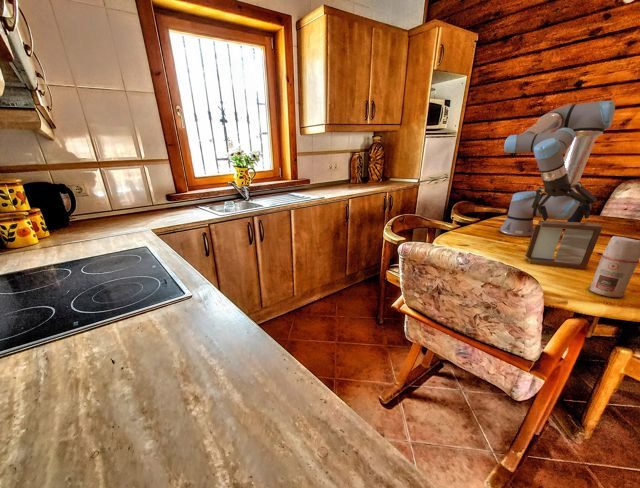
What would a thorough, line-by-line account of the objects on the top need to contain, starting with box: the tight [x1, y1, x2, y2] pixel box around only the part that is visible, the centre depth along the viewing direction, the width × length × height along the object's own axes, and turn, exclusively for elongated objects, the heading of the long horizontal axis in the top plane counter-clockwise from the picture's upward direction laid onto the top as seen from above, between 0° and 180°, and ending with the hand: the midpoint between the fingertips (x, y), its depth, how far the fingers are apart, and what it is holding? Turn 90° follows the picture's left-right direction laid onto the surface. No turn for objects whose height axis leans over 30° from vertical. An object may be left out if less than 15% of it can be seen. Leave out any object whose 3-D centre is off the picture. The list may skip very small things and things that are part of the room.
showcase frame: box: [526, 220, 604, 270], centre depth 115 cm, size 5×18×18 cm, turn 64°
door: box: [525, 224, 564, 259], centre depth 118 cm, size 2×9×14 cm, turn 63°
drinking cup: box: [566, 203, 585, 223], centre depth 158 cm, size 8×8×20 cm
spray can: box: [588, 235, 640, 298], centre depth 92 cm, size 8×8×20 cm
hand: (565, 217), depth 121 cm, fingers open, 13 cm apart
